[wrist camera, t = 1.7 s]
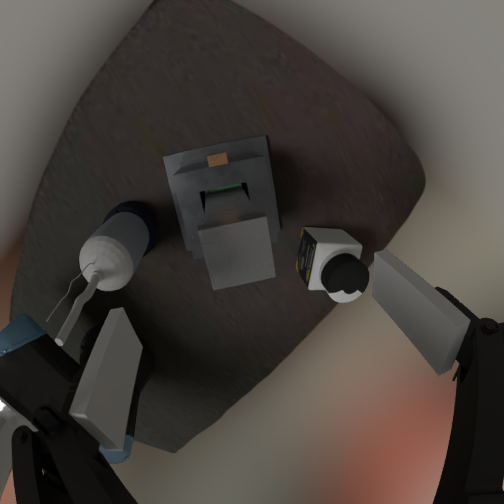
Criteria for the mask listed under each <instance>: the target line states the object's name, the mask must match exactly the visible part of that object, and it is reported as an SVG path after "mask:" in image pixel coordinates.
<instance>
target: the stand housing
mask: <svg viewBox="0 0 504 504" xmlns="http://www.w3.org/2000/svg"><path fill="white" fill-rule="evenodd" d="M163 159H164V163H165V168H166V172H167V176H168V181H169V185H170V189H171V193H172V197H173V201H174V205H175V209H176V213H177V217H178V221H179V224H180V228H181V232H182V235H183V239H184V243H185V246H186V250H187V251H191V250H192V254H193V258H194V260H196V259H200V258H204V254H203V250H202V246H201V242H200V238H199V234H198V226H199V225H203V224H204V213H205V199H206V197H205V193H204V191H205V190H210V189H214V188H219V187H224V186H228V185H233V184H238V183H241V185H242V189H243V190H244V192H245V193H246V195H247V197H248V198H249V200H250V202H251V203H252V205H253V206H254V208H255V210H256V211H257V213H259V212H264V214H265V215H266V217H267V223H268V229H269V236H270V242H271V243H274V242H278V236H277V232H279V231H281V230H280V223H279V216H278V210H277V203H276V196H275V190H274V183H273V177H272V171H271V164H270V158H269V152H268V146H267V140H266V136H259V137H253V138H247V139H241V140H236V141H231V142H225V143H220V144H215V145H211V146H206V147H201V148H197V149H193V150H188V151H184V152H180V153H176V154H172V155H168V156H164V157H163Z"/></svg>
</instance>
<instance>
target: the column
mask: <svg viewBox="0 0 504 504" xmlns="http://www.w3.org/2000/svg"><path fill="white" fill-rule="evenodd" d="M205 195H206V199H205V213H204V224H203V225H199V226H198V234H199V238H200V242H201V246H202V250H203V254H204V258H205V261H206V265H207V269H208V272H209V276H210V280H211V283H212V287H213V290H218V289H222V288H227V287H232V286H236V285H241V284H246V283H250V282H255V281H259V280H264V279H268V278H272V277H276V275H275V268H274V262H273V255H272V249H271V242H270V236H269V229H268V223H267V217H266V215H265V214H264V212H259V213H257V211H256V210H255V208H254V206H253V205H252V203H251V202H250V200H249V198H248V197H247V195H246V193H245V192H244V190H243V189H242V185H241V183H238V184H233V185H228V186H224V187H219V188H214V189H210V190H205Z"/></svg>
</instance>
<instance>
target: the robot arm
mask: <svg viewBox="0 0 504 504" xmlns="http://www.w3.org/2000/svg"><path fill="white" fill-rule="evenodd" d="M372 296H373V298H374V299H375V300H376V301H377V302H378V303H379V304H380V305H381V307H382V308H383V309H384V310H385V311H386V312H387V313H388V315H389V316H390V317H391V318H392V319H393V320H394V322H395V323H396V324H397V325H398V326H399V328H400V329H401V330H402V331H403V332H404V333H405V335H406V336H407V337H408V338H409V340H410V341H411V342H412V343H413V344H414V345H415V347H416V348H417V349H418V350H419V352H420V353H421V354H422V355H423V357H424V358H425V359H426V360H427V362H428V363H429V364H430V365H431V367H432V368H433V369H434V371H435V372H436V373H437V374H438V376H440V375H442V374H444V373H445V372H447V371H449V370H450V369H452V367H453V364H454V362H455V360H457V361H458V362H459V366H458V369H457V371H456V373H455V375H454V377H453V381H455V379H456V377H457V388H456V398H455V407H454V416H453V422H452V429H451V435H450V440H449V445H448V450H447V455H446V459H445V463H444V467H443V471H442V475H441V479H440V482H439V486H438V489H437V492H436V495H435V498H434V501H433V504H504V491H503V489H502V486H503V479H504V322H503V323H499V324H498V323H497V322H496V321H494V320H493V319H490V318H482V319H479V318H478V317H476V315H474V314H473V313H472V312H471V311H470V310H469V309H468V308H467V307H465V306H464V305H463V304H462V303H460V302H459V301H458V300H457V299H456V298H454V296H452V295H451V294H450V293H449V292H448V291H446V290H444V289H442V288H440V287H435V288H434V287H432V286H431V285H430V284H429V283H428V282H426V281H425V280H424V279H423V278H422V277H420V276H419V275H418V274H417V273H415V272H414V271H413V270H412V269H411V268H409V267H408V266H407V265H406V264H404V263H403V262H402V261H400V260H399V259H398V258H397V257H395V256H394V255H392V254H391V253H390V252H389V251H387V250H382V251H379V252H375V253H374V277H373V293H372ZM154 362H155V361H154V355H153V353H152V351H151V349H150V347H149V346H148V345H147V344H146V343H145V342H144V341H143V340H142V339H141V338H140V337H139V336H137V335H136V333H135V331H134V329H133V327H132V325H131V323H130V321H129V319H128V317H127V315H126V313H125V310H124V308H123V307H122V308H116V309H110V312H109V314H108V316H107V318H106V320H105V322H104V325H100V326H96V327H93V328H92V329H90V330H89V331H88V332H87V333H86V334H85V336H84V338H83V340H82V342H81V346H80V365H79V364H78V363H77V362H76V361H75V360H74V359H73V358H71V357H70V356H69V355H68V354H67V353H66V352H65V351H64V350H63V349H62V348H61V347H60V346H59V345H58V344H57V343H56V342H55V341H54V340H53V339H52V338H51V337H50V336H49V335H48V334H47V331H46V330H43V329H42V328H41V327H40V326H39V325H38V324H37V323H36V322H35V321H34V320H33V319H32V318H31V317H30V316H28V315H25V314H21V315H19V316H17V317H16V318H15V319H13V320H12V321H11V322H10V323H9V324H8V325H7V326H6V327H5V328H4V329H3V330H2V331H1V332H0V500H1V497H2V494H3V491H4V488H5V485H6V483H7V480H8V477H9V475H10V472H11V470H12V468H13V479H14V487H15V494H16V501H17V504H138V503H137V502H136V500H135V499H134V498H133V497H132V495H131V494H130V493H129V491H128V490H127V489H126V488H125V486H124V485H123V483H122V482H121V481H120V479H119V478H118V476H117V475H116V474H115V472H114V471H113V469H112V468H111V466H110V465H109V464H118V463H122V462H124V461H126V460H127V459H128V458H129V457H130V453H131V449H132V444H133V442H134V431H135V423H136V416H137V409H138V402H139V396H140V393H141V391H142V390H143V388H144V387H145V385H146V383H147V382H148V381H149V380H150V378H151V376H152V374H153V369H154ZM42 469H43V471H44V475H43V472H42Z"/></svg>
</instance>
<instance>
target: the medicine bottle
mask: <svg viewBox="0 0 504 504" xmlns="http://www.w3.org/2000/svg"><path fill="white" fill-rule="evenodd" d="M361 251H362V245H361V244H360V243H359V242H357V241H356V240H355V239H354V238H352V237H351V236H350V235H349V234H347V233H346V232H345V231H344V230H342V229H329V228H313V227H303V228H302V231H301V237H300V243H299V250H298V256H297V262H296V270H297V271H298V273H299V274H300V276H301V278H302V279H303V281H304V283H305V284H306V286H307V287H308V289H309V290H326V292H327V293H328V294H329V296H330V297H331V298H332V299H333V300H334V301H336V302H340V303H346V302H350V301H353V300H355V299H356V298H358V297H359V296H360V295H361V294H362V293H363V292H364V291H365V289H366V287H367V285H368V282H369V271H368V268H367V267H366V266H365V265H364V264H363V263H362V262H361V261H360V260H359V259H360V255H361Z"/></svg>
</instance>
